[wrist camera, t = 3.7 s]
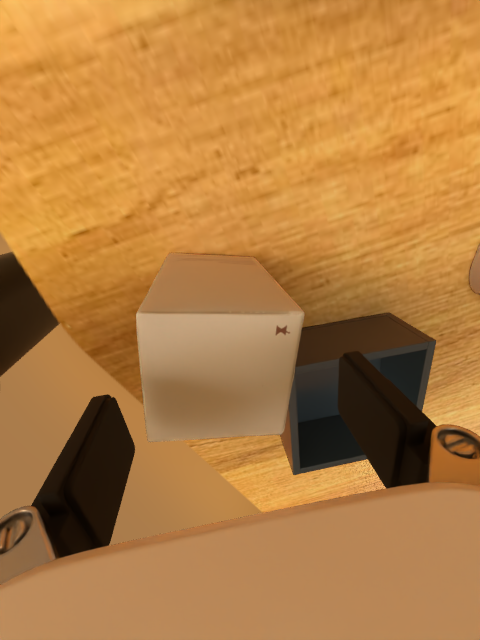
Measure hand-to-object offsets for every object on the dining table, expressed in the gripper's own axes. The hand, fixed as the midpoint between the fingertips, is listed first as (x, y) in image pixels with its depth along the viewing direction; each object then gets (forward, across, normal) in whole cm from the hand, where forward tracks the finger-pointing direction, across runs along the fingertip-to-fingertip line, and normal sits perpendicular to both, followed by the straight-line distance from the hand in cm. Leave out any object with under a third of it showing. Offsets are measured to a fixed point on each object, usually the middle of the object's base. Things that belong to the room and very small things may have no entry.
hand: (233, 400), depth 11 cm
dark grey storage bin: (+14, -10, +11) cm, 21 cm away
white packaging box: (+14, +1, 0) cm, 14 cm away
